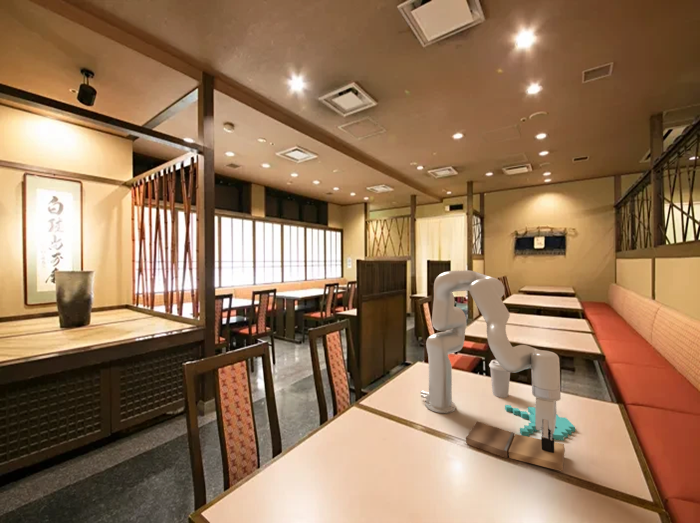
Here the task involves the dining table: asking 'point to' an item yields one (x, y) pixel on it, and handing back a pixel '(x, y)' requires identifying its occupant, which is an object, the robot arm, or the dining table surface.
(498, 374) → the coffee cup
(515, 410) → the alien figure
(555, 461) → the oak plank
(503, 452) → the walnut board
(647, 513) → the dining table surface
